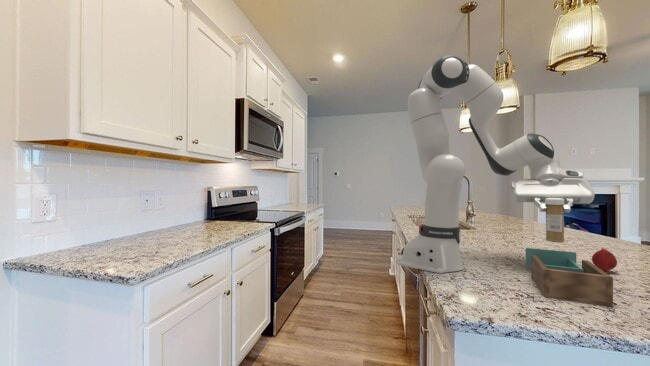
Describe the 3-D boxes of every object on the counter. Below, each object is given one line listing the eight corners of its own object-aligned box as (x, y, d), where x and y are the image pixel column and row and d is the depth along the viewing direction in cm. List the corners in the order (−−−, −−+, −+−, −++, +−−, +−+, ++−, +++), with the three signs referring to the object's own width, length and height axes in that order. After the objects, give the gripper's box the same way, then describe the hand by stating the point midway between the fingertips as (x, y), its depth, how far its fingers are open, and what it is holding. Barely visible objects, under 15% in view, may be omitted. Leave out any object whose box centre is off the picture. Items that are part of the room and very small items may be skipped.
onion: (622, 274, 87) (622, 249, 87) (604, 274, 87) (604, 249, 87) (604, 268, 93) (604, 245, 93) (587, 268, 93) (587, 245, 93)
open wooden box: (543, 296, 71) (543, 269, 71) (531, 277, 85) (531, 254, 85) (613, 307, 64) (612, 277, 64) (587, 284, 79) (587, 260, 79)
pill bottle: (566, 241, 85) (566, 198, 84) (561, 243, 82) (561, 198, 82) (548, 239, 88) (548, 197, 88) (542, 240, 86) (542, 198, 86)
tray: (533, 276, 82) (533, 257, 82) (525, 264, 94) (525, 247, 94) (591, 284, 76) (591, 263, 76) (575, 270, 88) (575, 252, 88)
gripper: (511, 173, 96) (515, 203, 88) (589, 172, 86) (602, 205, 78) (509, 186, 100) (513, 215, 92) (584, 186, 90) (596, 219, 82)
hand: (555, 211), depth 85 cm, fingers closed on pill bottle, 4 cm apart
